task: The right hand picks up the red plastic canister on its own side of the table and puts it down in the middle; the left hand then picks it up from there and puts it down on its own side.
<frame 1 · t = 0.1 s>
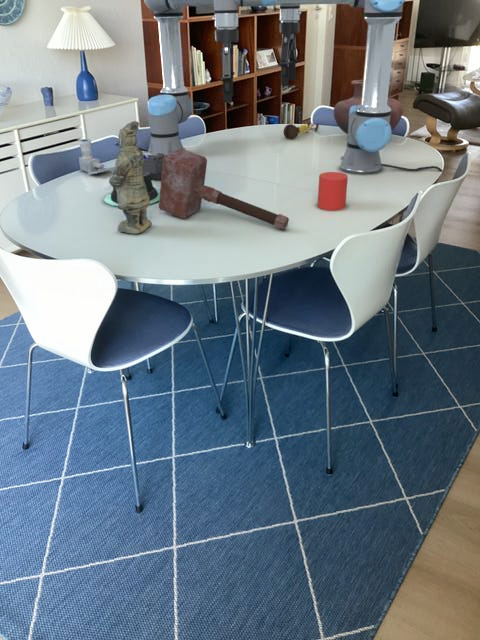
left hand: (288, 82, 220), 28 cm above the table, tool pointing down, fingers open, 13 cm apart
right hand: (228, 99, 188), 28 cm above the table, tool pointing down, fingers open, 13 cm apart
statue: (134, 229, 162), on the table
figurine: (300, 135, 264), on the table
clay pot: (365, 140, 253), on the table
sledgehammer: (224, 220, 166), on the table
toy: (151, 178, 207), on the table
chocolate cake: (134, 197, 187), on the table
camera: (95, 173, 214), on the table
canister: (331, 205, 176), on the table
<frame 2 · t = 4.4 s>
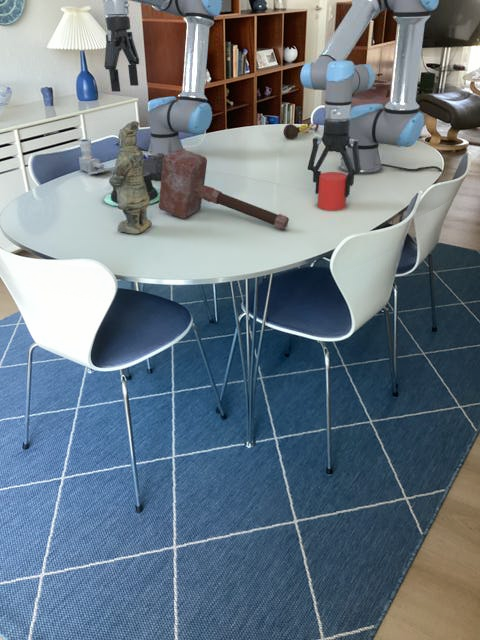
left hand: (125, 88, 185), 32 cm above the table, tool pointing down, fingers open, 13 cm apart
right hand: (332, 194, 174), 4 cm above the table, tool pointing down, fingers closed on canister, 9 cm apart
canister: (331, 205, 176), on the table, touching right hand
everything else where it was.
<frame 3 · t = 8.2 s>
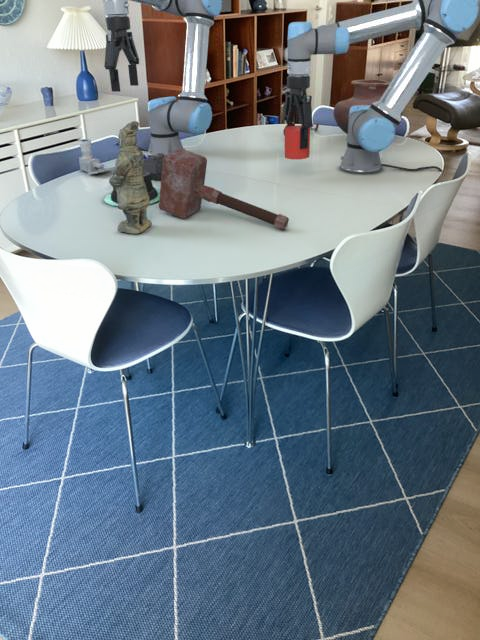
left hand: (125, 88, 185), 32 cm above the table, tool pointing down, fingers open, 13 cm apart
right hand: (297, 145, 194), 13 cm above the table, tool pointing down, fingers closed on canister, 9 cm apart
canister: (296, 156, 196), point 9 cm above the table, touching right hand
everything else where it was.
when the right hand's fingers open (5 cm above the table, at t = 12.2 s): canister drops 1 cm, on the table.
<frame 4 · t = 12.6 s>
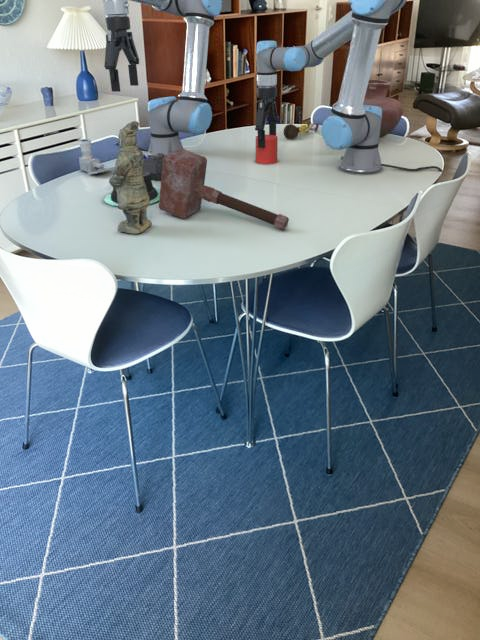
left hand: (125, 88, 185), 32 cm above the table, tool pointing down, fingers open, 13 cm apart
right hand: (267, 143, 221), 7 cm above the table, tool pointing down, fingers open, 13 cm apart
canister: (266, 161, 224), on the table
everything else where it was.
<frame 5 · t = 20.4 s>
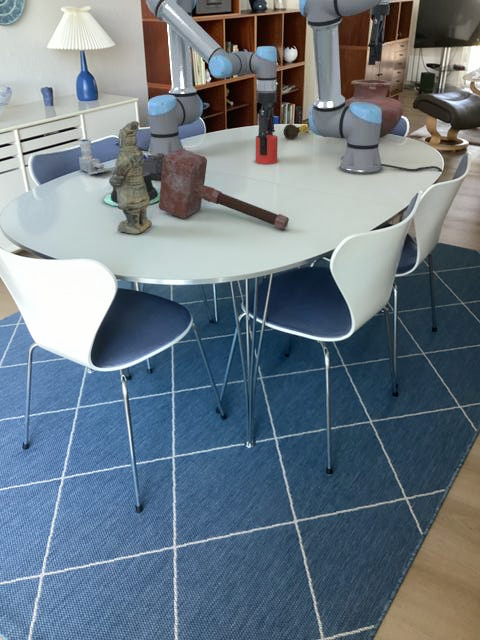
left hand: (266, 151, 222), 4 cm above the table, tool pointing down, fingers closed on canister, 9 cm apart
right hand: (374, 63, 229), 33 cm above the table, tool pointing down, fingers open, 13 cm apart
canister: (266, 161, 224), on the table, touching left hand
everything else where it was.
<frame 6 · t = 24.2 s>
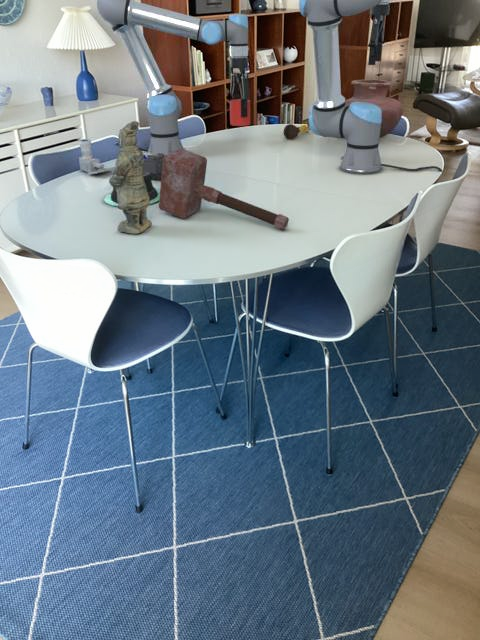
left hand: (239, 114, 239), 14 cm above the table, tool pointing down, fingers closed on canister, 9 cm apart
right hand: (374, 63, 229), 33 cm above the table, tool pointing down, fingers open, 13 cm apart
canister: (240, 124, 241), point 10 cm above the table, touching left hand
everything else where it was.
when the left hand's fingers open (5 cm above the table, at t = 28.0 s): canister drops 1 cm, on the table.
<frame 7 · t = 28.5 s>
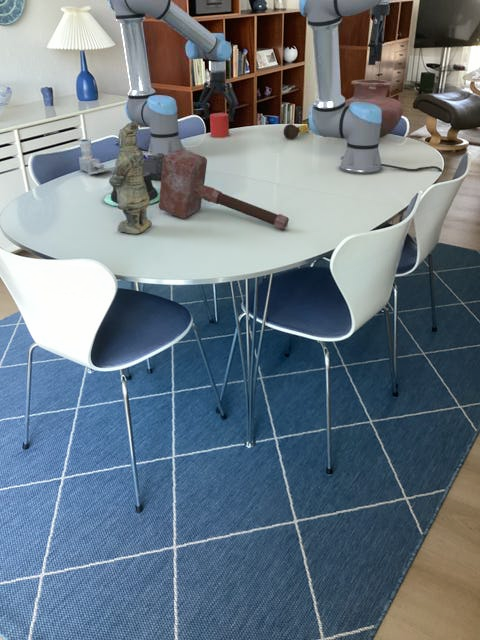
left hand: (218, 120, 263), 7 cm above the table, tool pointing down, fingers open, 13 cm apart
right hand: (374, 63, 229), 33 cm above the table, tool pointing down, fingers open, 13 cm apart
canister: (219, 135, 267), on the table
everything else where it was.
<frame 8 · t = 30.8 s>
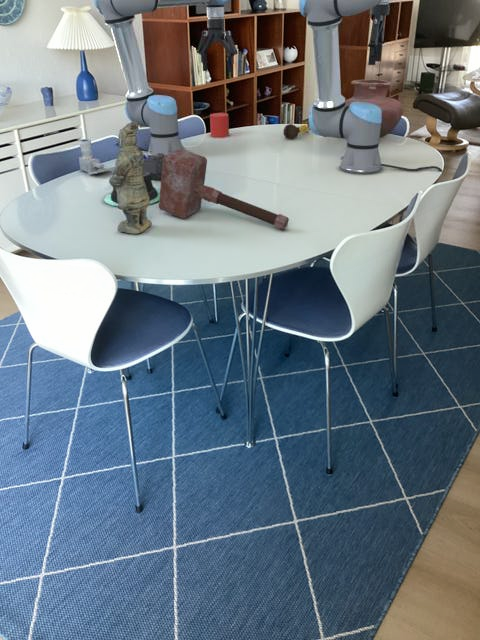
left hand: (217, 71, 253), 28 cm above the table, tool pointing down, fingers open, 13 cm apart
right hand: (374, 63, 229), 33 cm above the table, tool pointing down, fingers open, 13 cm apart
nothing on the table moved.
at the end: canister inside the target area (0.0 cm from its centre), on the table; canister tilted 0°; the two hands never held the canister at the same time; the left hand is holding nothing; the right hand is holding nothing; canister at rest at the end (0.0 cm/s) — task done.
